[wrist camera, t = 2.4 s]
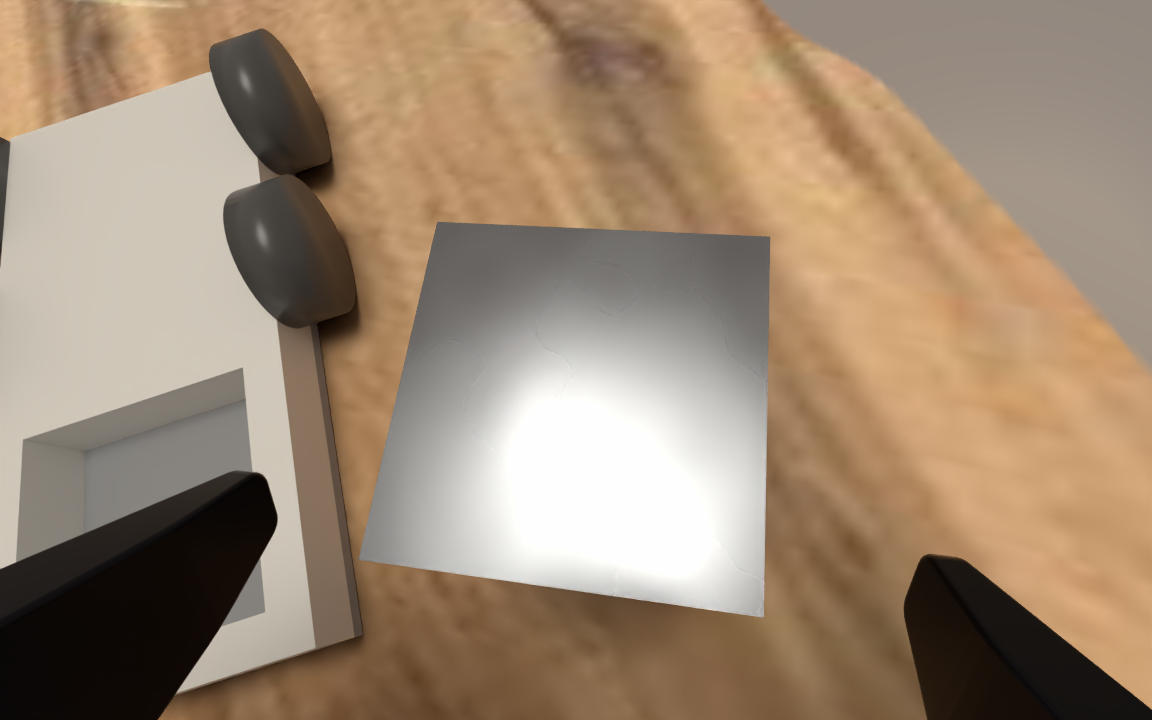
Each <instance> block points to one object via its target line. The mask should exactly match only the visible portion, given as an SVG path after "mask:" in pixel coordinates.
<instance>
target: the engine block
mask: <svg viewBox="0 0 1152 720" xmlns="http://www.w3.org/2000/svg"><path fill="white" fill-rule="evenodd" d="M769 268H770V237H762V236H740V235H717V234H695V233H673V232H650V231H628V230H605V229H583V228H561V227H538V226H516V225H494V224H471V223H449V222H437V226H436V230H435V234H434V238H433V243H432V247H431V251H430V256H429V260H428V264H427V268H426V273H425V277H424V281H423V286H422V290H421V294H420V299H419V303H418V307H417V311H416V316H415V320H414V324H413V329H412V333H411V337H410V341H409V346H408V350H407V354H406V359H405V363H404V367H403V372H402V376H401V380H400V384H399V389H398V393H397V397H396V402H395V406H394V410H393V414H392V419H391V423H390V427H389V432H388V436H387V440H386V444H385V449H384V453H383V457H382V462H381V466H380V470H379V475H378V479H377V483H376V487H375V492H374V496H373V500H372V505H371V509H370V513H369V517H368V522H367V526H366V530H365V535H364V539H363V543H362V548H361V552H360V556H359V560H364V561H371V562H378V563H385V564H392V565H399V566H406V567H413V568H420V569H427V570H434V571H441V572H448V573H455V574H462V575H469V576H476V577H483V578H490V579H497V580H504V581H512V582H519V583H526V584H533V585H540V586H547V587H554V588H561V589H568V590H575V591H582V592H589V593H596V594H603V595H610V596H617V597H624V598H631V599H638V600H645V601H652V602H659V603H666V604H673V605H680V606H687V607H694V608H701V609H708V610H715V611H722V612H729V613H736V614H743V615H750V616H757V617H764V564H765V505H766V446H767V387H768V328H769Z"/></svg>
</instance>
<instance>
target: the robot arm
mask: <svg viewBox="0 0 1152 720" xmlns="http://www.w3.org/2000/svg"><path fill="white" fill-rule="evenodd" d="M277 522H278V515H277V511H276V507H275V504H274V501H273V498H272V494H271V491H270V488H269V484H268V481H267V479H266V478H265V476H264V475H263V474H260V473H258V472H251V471H242V470H235V471H231V472H228V473H225V474H223V475H221V476H218V477H216V478H214V479H211V480H209V481H207V482H204V483H202V484H200V485H197V486H195V487H192V488H190V489H188V490H185V491H183V492H181V493H178V494H176V495H174V496H171V497H169V498H166V499H164V500H162V501H159V502H157V503H155V504H152V505H150V506H148V507H145V508H143V509H141V510H138V511H136V512H133V513H131V514H129V515H126V516H124V517H122V518H119V519H117V520H115V521H112V522H110V523H107V524H105V525H103V526H100V527H98V528H96V529H93V530H91V531H89V532H86V533H84V534H81V535H79V536H77V537H74V538H72V539H70V540H67V541H65V542H63V543H60V544H58V545H56V546H53V547H51V548H48V549H46V550H44V551H41V552H39V553H37V554H34V555H32V556H30V557H27V558H25V559H22V560H20V561H18V562H15V563H13V564H11V565H8V566H6V567H4V568H1V569H0V720H158V719H159V717H160V716H161V715H162V713H163V712H164V710H165V709H166V707H167V706H168V704H169V703H170V701H171V700H172V699H173V697H174V696H175V694H176V693H177V691H178V690H179V688H180V687H181V685H182V684H183V682H184V681H185V680H186V678H187V677H188V675H189V674H190V672H191V671H192V669H193V668H194V666H195V665H196V664H197V662H198V661H199V659H200V658H201V656H202V655H203V653H204V652H205V650H206V649H207V648H208V646H209V645H210V643H211V642H212V640H213V638H214V637H215V635H216V634H217V632H218V631H219V629H220V628H221V626H222V624H223V623H224V621H225V619H226V618H227V616H228V614H229V613H230V611H231V609H232V607H233V606H234V604H235V602H236V600H237V598H238V597H239V595H240V593H241V591H242V590H243V588H244V586H245V584H246V582H247V581H248V579H249V577H250V575H251V574H252V572H253V570H254V568H255V566H256V565H257V563H258V561H259V559H260V558H261V556H262V554H263V552H264V550H265V549H266V547H267V545H268V543H269V542H270V540H271V538H272V536H273V535H274V532H275V530H276V527H277ZM904 618H905V623H906V628H907V632H908V637H909V641H910V645H911V650H912V654H913V659H914V663H915V667H916V672H917V676H918V681H919V685H920V689H921V694H922V698H923V703H924V707H925V711H926V716H927V720H1152V709H1150V708H1149V707H1148V706H1147V705H1145V704H1144V703H1143V702H1142V701H1140V700H1139V699H1138V698H1137V697H1135V696H1134V695H1133V694H1132V693H1130V692H1129V691H1128V690H1127V689H1125V688H1124V687H1123V686H1122V685H1120V684H1119V683H1118V682H1117V681H1115V680H1114V679H1113V678H1112V677H1110V676H1109V675H1108V674H1107V673H1105V672H1104V671H1103V670H1102V669H1100V668H1099V667H1098V666H1097V665H1095V664H1094V663H1093V662H1092V661H1090V660H1089V659H1088V658H1087V657H1085V656H1084V655H1083V654H1082V653H1080V652H1079V651H1078V650H1077V649H1076V648H1074V647H1073V646H1072V645H1071V644H1069V643H1068V642H1067V641H1066V640H1064V639H1063V638H1062V637H1061V636H1059V635H1058V634H1057V633H1056V632H1054V631H1053V630H1052V629H1051V628H1049V627H1048V626H1047V625H1046V624H1044V623H1043V622H1042V621H1041V620H1039V619H1038V618H1037V617H1036V616H1034V615H1033V614H1032V613H1031V612H1029V611H1028V610H1027V609H1026V608H1024V607H1023V606H1022V605H1021V604H1019V603H1018V602H1017V601H1016V600H1014V599H1013V598H1012V597H1011V596H1009V595H1008V594H1007V593H1006V592H1004V591H1003V590H1002V589H1001V588H999V587H998V586H997V585H996V584H994V583H993V582H992V581H991V580H989V579H988V578H987V577H986V576H984V575H983V574H982V573H981V572H979V571H978V570H977V569H976V568H974V567H973V566H972V565H971V564H969V563H968V562H967V561H965V560H963V559H961V558H958V557H952V556H944V555H935V554H927V555H924V556H923V557H922V558H921V559H920V561H919V563H918V566H917V568H916V571H915V574H914V576H913V579H912V581H911V584H910V587H909V589H908V592H907V595H906V597H905V601H904Z"/></svg>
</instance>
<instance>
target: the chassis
mask: <svg viewBox="0 0 1152 720" xmlns="http://www.w3.org/2000/svg"><path fill="white" fill-rule="evenodd" d="M209 63H210V69H211V72H208V73H205V74H202V75H199V76H196V77H193V78H190V79H187V80H184V81H181V82H178V83H175V84H172V85H169V86H166V87H163V88H160V89H157V90H154V91H151V92H148V93H145V94H142V95H139V96H136V97H133V98H130V99H127V100H124V101H121V102H118V103H115V104H112V105H109V106H106V107H103V108H100V109H97V110H94V111H91V112H88V113H85V114H82V115H79V116H76V117H73V118H70V119H67V120H64V121H61V122H58V123H55V124H52V125H49V126H46V127H43V128H40V129H37V130H34V131H31V132H28V133H25V134H22V135H19V136H16V137H13V138H11V142H9V141H7V140H5V139H3V138H1V137H0V569H1V568H4V567H6V566H8V565H11V564H13V563H15V562H18V561H20V560H22V559H25V558H27V557H30V556H32V555H34V554H37V553H39V552H41V551H44V550H46V549H48V548H51V547H53V546H56V545H58V544H60V543H63V542H65V541H67V540H70V539H72V538H74V537H77V536H79V535H81V534H84V533H86V532H89V531H91V530H93V529H96V528H98V527H100V526H103V525H105V524H107V523H110V522H112V521H115V520H117V519H119V518H122V517H124V516H126V515H129V514H131V513H133V512H136V511H138V510H141V509H143V508H145V507H148V506H150V505H152V504H155V503H157V502H159V501H162V500H164V499H166V498H169V497H171V496H174V495H176V494H178V493H181V492H183V491H185V490H188V489H190V488H192V487H195V486H197V485H200V484H202V483H204V482H207V481H209V480H211V479H214V478H216V477H218V476H221V475H223V474H225V473H228V472H231V471H235V470H242V471H251V472H258V473H260V474H263V475H264V476H265V478H266V479H267V481H268V484H269V488H270V491H271V494H272V498H273V501H274V504H275V507H276V511H277V515H278V522H277V527H276V530H275V532H274V535H273V536H272V538H271V540H270V542H269V543H268V545H267V547H266V549H265V550H264V552H263V554H262V556H261V558H260V559H259V561H258V563H257V565H256V566H255V568H254V570H253V572H252V574H251V575H250V577H249V579H248V581H247V582H246V584H245V586H244V588H243V590H242V591H241V593H240V595H239V597H238V598H237V600H236V602H235V604H234V606H233V607H232V609H231V611H230V613H229V614H228V616H227V618H226V619H225V621H224V623H223V624H222V626H221V628H220V629H219V631H218V632H217V634H216V635H215V637H214V638H213V640H212V642H211V643H210V645H209V646H208V648H207V649H206V650H205V652H204V653H203V655H202V656H201V658H200V659H199V661H198V662H197V664H196V665H195V666H194V668H193V669H192V671H191V672H190V674H189V675H188V677H187V678H186V680H185V681H184V682H183V684H182V685H181V687H180V688H179V690H178V691H177V693H176V694H175V696H176V695H179V694H182V693H185V692H188V691H191V690H194V689H197V688H200V687H203V686H207V685H210V684H213V683H216V682H219V681H222V680H225V679H228V678H231V677H234V676H237V675H241V674H244V673H247V672H250V671H253V670H256V669H259V668H262V667H265V666H268V665H272V664H275V663H278V662H281V661H284V660H287V659H290V658H293V657H296V656H299V655H302V654H306V653H309V652H312V651H315V650H318V649H321V648H324V647H327V646H330V645H333V644H336V643H340V642H343V641H346V640H349V639H352V638H355V637H358V636H361V635H363V632H362V625H361V618H360V611H359V605H358V598H357V591H356V584H355V578H354V571H353V564H352V557H351V550H350V544H349V537H348V530H347V523H346V516H345V510H344V503H343V496H342V489H341V483H340V476H339V469H338V462H337V455H336V449H335V442H334V435H333V428H332V421H331V415H330V408H329V401H328V394H327V388H326V381H325V374H324V367H323V360H322V354H321V347H320V340H319V333H318V326H317V323H318V322H321V321H324V320H327V319H330V318H333V317H336V316H339V315H342V314H345V313H348V312H350V311H351V310H352V308H353V307H354V304H355V298H356V289H355V280H354V275H353V270H352V267H351V263H350V260H349V257H348V254H347V251H346V248H345V246H344V244H343V241H342V239H341V237H340V234H339V232H338V230H337V228H336V226H335V224H334V223H333V221H332V219H331V217H330V215H329V214H328V212H327V211H326V209H325V208H324V206H323V205H322V203H321V202H320V200H319V199H318V198H317V196H316V195H315V194H314V193H313V192H312V190H311V189H310V188H309V187H308V186H307V185H306V184H305V183H303V182H302V181H301V180H300V179H298V178H297V177H295V173H297V172H300V171H303V170H306V169H309V168H312V167H315V166H318V165H321V164H324V163H327V162H328V161H329V160H330V157H331V147H330V141H329V136H328V133H327V129H326V126H325V123H324V120H323V117H322V115H321V112H320V110H319V107H318V105H317V103H316V100H315V98H314V96H313V94H312V92H311V90H310V88H309V86H308V84H307V82H306V80H305V79H304V77H303V75H302V73H301V72H300V70H299V68H298V67H297V65H296V63H295V62H294V60H293V59H292V57H291V56H290V55H289V53H288V52H287V50H286V49H285V48H284V47H283V45H282V44H281V43H280V42H279V41H278V40H277V39H276V38H275V37H274V36H273V35H272V34H271V33H270V32H268V31H267V30H265V29H258V30H255V31H252V32H249V33H246V34H243V35H240V36H237V37H234V38H231V39H228V40H225V41H222V42H219V43H216V44H214V45H212V46H211V49H210V52H209Z"/></svg>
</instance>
